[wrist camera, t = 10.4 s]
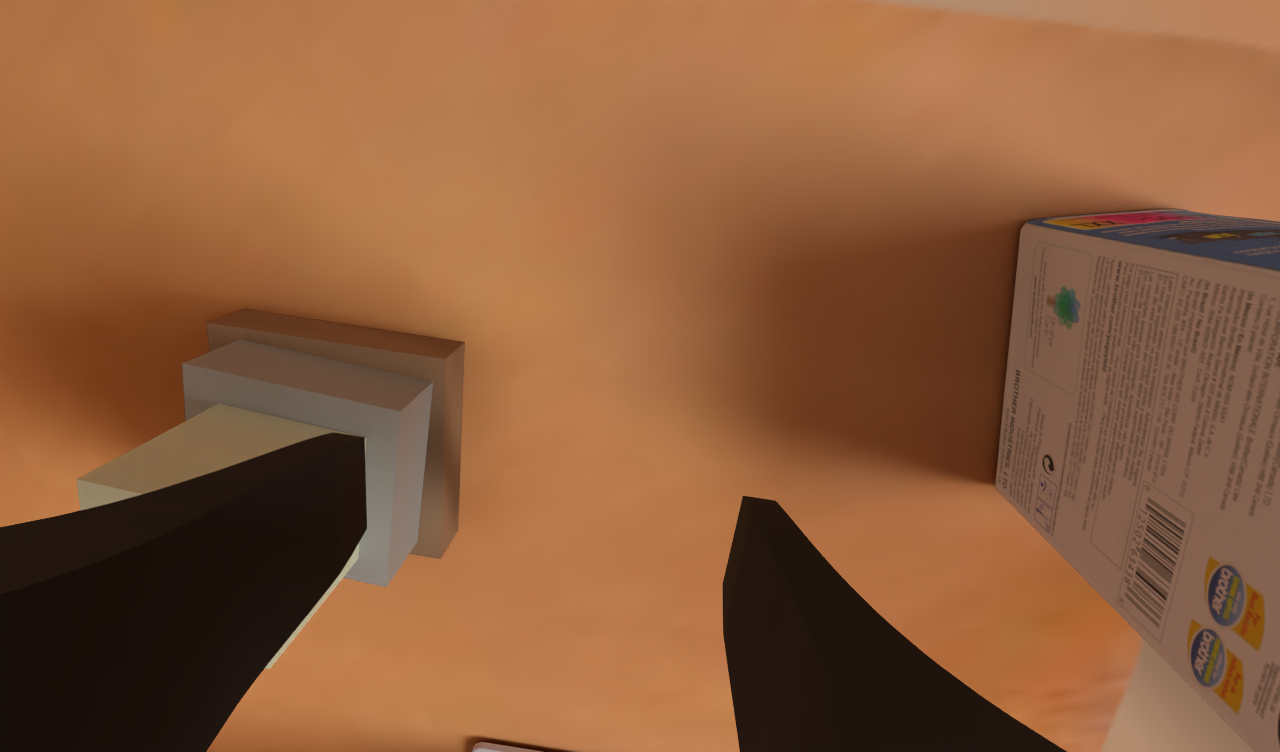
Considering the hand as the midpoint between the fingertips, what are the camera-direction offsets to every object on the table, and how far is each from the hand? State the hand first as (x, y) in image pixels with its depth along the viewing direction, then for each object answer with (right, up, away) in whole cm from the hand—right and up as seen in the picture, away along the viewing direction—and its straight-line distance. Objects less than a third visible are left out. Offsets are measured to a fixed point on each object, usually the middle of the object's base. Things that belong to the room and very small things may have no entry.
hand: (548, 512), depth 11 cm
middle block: (-9, 0, +10) cm, 13 cm away
